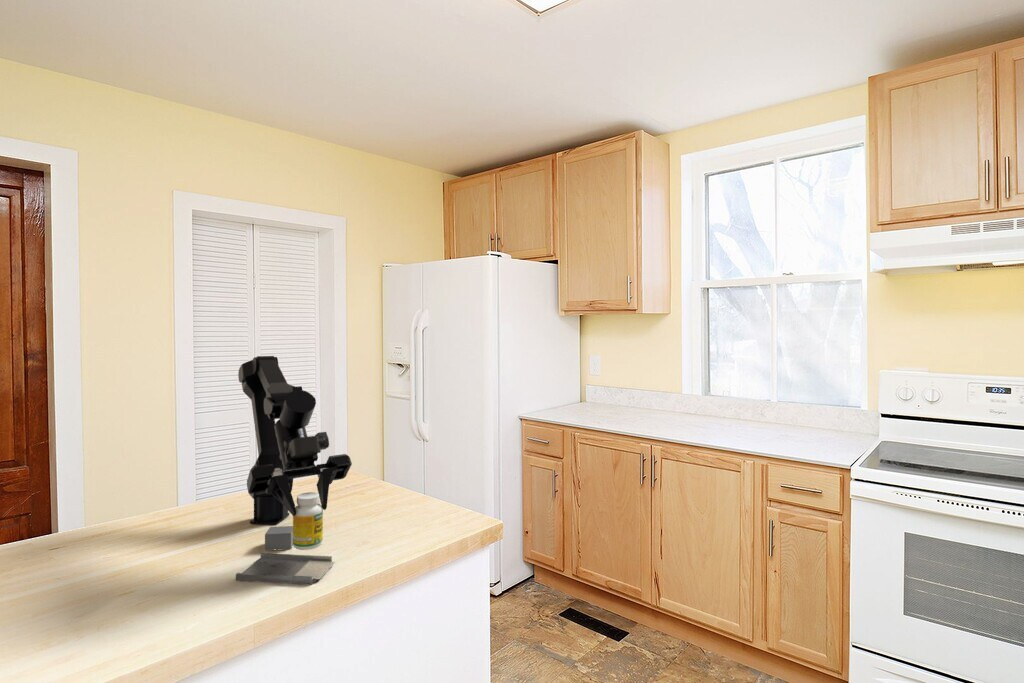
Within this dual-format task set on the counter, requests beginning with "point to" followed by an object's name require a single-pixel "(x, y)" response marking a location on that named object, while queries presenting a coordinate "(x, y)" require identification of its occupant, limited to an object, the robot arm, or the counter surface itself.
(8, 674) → the counter surface
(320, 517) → the supplement bottle
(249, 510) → the counter surface
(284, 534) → the block
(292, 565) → the grey flat tray
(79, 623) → the counter surface
